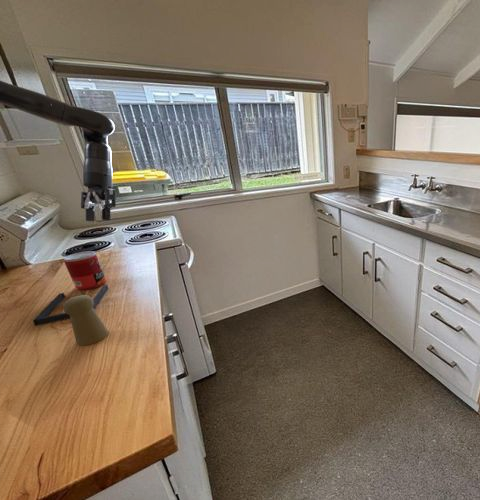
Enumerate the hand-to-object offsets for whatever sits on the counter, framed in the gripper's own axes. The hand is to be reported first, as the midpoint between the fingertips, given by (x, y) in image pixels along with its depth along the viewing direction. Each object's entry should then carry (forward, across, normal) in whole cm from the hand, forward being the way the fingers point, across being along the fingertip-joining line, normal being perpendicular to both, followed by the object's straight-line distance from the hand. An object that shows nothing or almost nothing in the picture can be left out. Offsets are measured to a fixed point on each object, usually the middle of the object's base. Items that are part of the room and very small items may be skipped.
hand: (98, 220), depth 97 cm
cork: (+32, +32, -18) cm, 49 cm away
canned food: (+22, 0, -2) cm, 22 cm away
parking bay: (+27, +10, -11) cm, 30 cm away
